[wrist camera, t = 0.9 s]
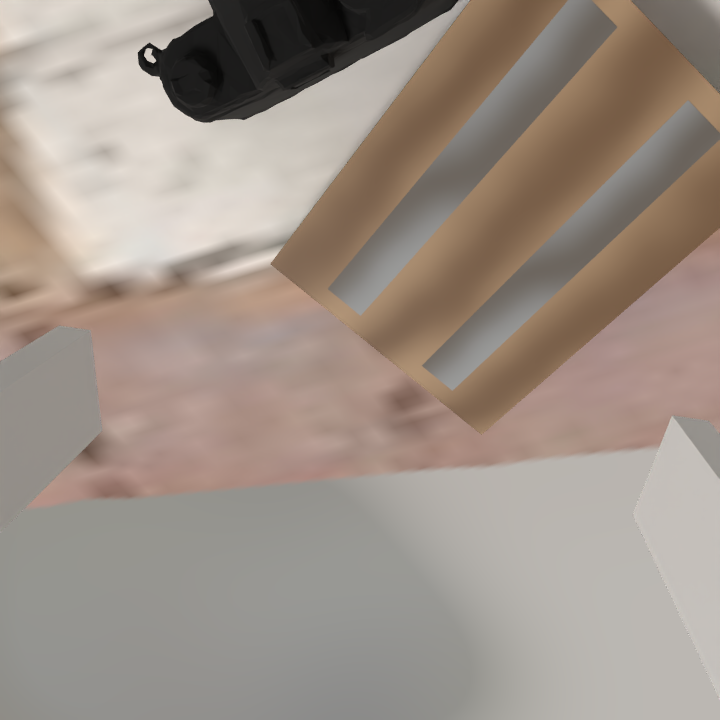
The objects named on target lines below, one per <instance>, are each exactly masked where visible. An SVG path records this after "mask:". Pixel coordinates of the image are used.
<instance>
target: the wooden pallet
mask: <svg viewBox="0 0 720 720" xmlns="http://www.w3.org/2000/svg"><path fill="white" fill-rule="evenodd" d="M719 228H720V94H719V93H718V92H717V91H716V89H715V88H714V87H713V86H712V85H711V84H710V83H709V82H708V81H707V80H706V79H705V78H704V77H703V76H702V75H701V74H700V73H699V72H698V71H697V69H696V68H695V67H694V66H693V65H692V64H691V63H690V62H689V61H688V60H687V59H686V58H685V57H684V56H683V55H682V54H681V53H680V52H679V51H678V49H677V48H676V47H675V46H674V45H673V44H672V43H671V42H670V41H669V40H668V39H667V38H666V37H665V36H664V35H663V34H662V33H661V32H660V31H659V30H658V28H657V27H656V26H655V25H654V24H653V23H652V22H651V21H650V20H649V19H648V18H647V17H646V16H645V15H644V14H643V13H642V12H641V11H640V10H639V8H638V7H637V6H636V5H635V4H634V3H633V2H632V1H631V0H470V2H469V3H468V4H467V6H466V7H465V8H464V10H463V11H462V12H461V14H460V15H459V16H458V17H457V19H456V20H455V21H454V23H453V24H452V25H451V27H450V28H449V29H448V31H447V32H446V33H445V35H444V36H443V37H442V39H441V40H440V41H439V43H438V44H437V45H436V46H435V48H434V49H433V50H432V52H431V53H430V54H429V56H428V57H427V58H426V60H425V61H424V62H423V64H422V65H421V66H420V68H419V69H418V70H417V71H416V73H415V74H414V75H413V77H412V78H411V79H410V81H409V82H408V83H407V85H406V86H405V87H404V89H403V90H402V91H401V93H400V94H399V95H398V97H397V98H396V99H395V100H394V102H393V103H392V104H391V106H390V107H389V108H388V110H387V111H386V112H385V114H384V115H383V116H382V118H381V119H380V120H379V122H378V123H377V124H376V126H375V127H374V128H373V129H372V131H371V132H370V133H369V135H368V136H367V137H366V139H365V140H364V141H363V143H362V144H361V145H360V147H359V148H358V149H357V151H356V152H355V153H354V155H353V156H352V157H351V158H350V160H349V161H348V162H347V164H346V165H345V166H344V168H343V169H342V170H341V172H340V173H339V174H338V176H337V177H336V178H335V180H334V181H333V182H332V183H331V185H330V186H329V187H328V189H327V190H326V191H325V193H324V194H323V195H322V197H321V198H320V199H319V201H318V202H317V203H316V205H315V206H314V207H313V209H312V210H311V211H310V212H309V214H308V215H307V216H306V218H305V219H304V220H303V222H302V223H301V224H300V226H299V227H298V228H297V230H296V231H295V232H294V234H293V235H292V236H291V238H290V239H289V240H288V241H287V243H286V244H285V245H284V247H283V248H282V249H281V251H280V252H279V253H278V255H277V256H276V257H275V259H274V260H273V261H272V263H271V265H272V266H274V267H275V268H276V269H277V270H278V271H280V272H281V273H282V274H283V275H285V276H286V277H287V278H288V279H290V280H291V281H292V282H293V283H295V284H296V285H297V286H298V287H299V288H301V289H302V290H303V291H304V292H306V293H307V294H308V295H309V296H311V297H312V298H313V299H314V300H316V301H317V302H318V303H319V304H321V305H322V306H323V307H324V308H325V309H327V310H328V311H329V312H330V313H332V314H333V315H334V316H335V317H337V318H338V319H339V320H340V321H342V322H343V323H344V324H345V325H347V326H348V327H349V328H350V329H351V330H353V331H354V332H355V333H356V334H358V335H359V336H360V337H361V338H363V339H364V340H365V341H366V342H368V343H369V344H370V345H371V346H372V347H374V348H375V349H376V350H377V351H379V352H380V353H381V354H382V355H384V356H385V357H386V358H387V359H389V360H390V361H391V362H392V363H394V364H395V365H396V366H397V367H398V368H400V369H401V370H402V371H403V372H405V373H406V374H407V375H408V376H410V377H411V378H412V379H413V380H415V381H416V382H417V383H418V384H420V385H421V386H422V387H423V388H424V389H426V390H427V391H428V392H429V393H431V394H432V395H433V396H434V397H436V398H437V399H438V400H439V401H441V402H442V403H443V404H444V405H445V406H447V407H448V408H449V409H450V410H452V411H453V412H454V413H455V414H457V415H458V416H459V417H460V418H462V419H463V420H464V421H465V422H467V423H468V424H469V425H470V426H471V427H473V428H474V429H475V430H476V431H478V432H479V433H480V434H481V435H482V434H483V433H484V432H485V431H486V430H487V429H489V428H490V427H491V426H492V425H493V424H494V423H495V422H497V421H498V420H499V419H500V418H501V417H502V416H504V415H505V414H506V413H507V412H508V411H509V410H510V409H512V408H513V407H514V406H515V405H516V404H517V403H518V402H520V401H521V400H522V399H523V398H524V397H525V396H527V395H528V394H529V393H530V392H531V391H532V390H533V389H535V388H536V387H537V386H538V385H539V384H540V383H541V382H543V381H544V380H545V379H546V378H547V377H548V376H550V375H551V374H552V373H553V372H554V371H555V370H556V369H558V368H559V367H560V366H561V365H562V364H563V363H565V362H566V361H567V360H568V359H569V358H570V357H571V356H573V355H574V354H575V353H576V352H577V351H578V350H579V349H581V348H582V347H583V346H584V345H585V344H586V343H588V342H589V341H590V340H591V339H592V338H593V337H594V336H596V335H597V334H598V333H599V332H600V331H601V330H602V329H604V328H605V327H606V326H607V325H608V324H609V323H611V322H612V321H613V320H614V319H615V318H616V317H617V316H619V315H620V314H621V313H622V312H623V311H624V310H625V309H627V308H628V307H629V306H630V305H631V304H632V303H634V302H635V301H636V300H637V299H638V298H639V297H640V296H642V295H643V294H644V293H645V292H646V291H647V290H649V289H650V288H651V287H652V286H653V285H654V284H655V283H657V282H658V281H659V280H660V279H661V278H662V277H663V276H665V275H666V274H667V273H668V272H669V271H670V270H672V269H673V268H674V267H675V266H676V265H677V264H678V263H680V262H681V261H682V260H683V259H684V258H685V257H686V256H688V255H689V254H690V253H691V252H692V251H693V250H695V249H696V248H697V247H698V246H699V245H700V244H701V243H703V242H704V241H705V240H706V239H707V238H708V237H710V236H711V235H712V234H713V233H714V232H715V231H716V230H718V229H719Z"/></svg>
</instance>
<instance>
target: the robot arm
mask: <svg viewBox="0 0 720 720" xmlns="http://www.w3.org/2000/svg"><path fill="white" fill-rule="evenodd" d="M101 431H102V424H101V416H100V407H99V398H98V389H97V381H96V372H95V363H94V355H93V346H92V337H91V330H85V329H78V328H72V327H65V326H58V327H56V328H55V329H53V330H51V331H50V332H48V333H46V334H45V335H43V336H41V337H40V338H38V339H36V340H35V341H33V342H31V343H30V344H28V345H27V346H25V347H23V348H22V349H20V350H18V351H17V352H15V353H13V354H12V355H10V356H8V357H7V358H5V359H4V360H2V361H0V532H2V531H3V530H4V528H6V526H7V525H9V524H10V523H11V522H12V521H13V520H14V518H16V516H17V515H19V514H20V513H21V512H22V510H24V509H25V508H26V507H27V506H28V505H29V504H30V503H31V502H32V501H33V500H34V499H35V498H36V497H37V496H38V495H39V494H40V493H41V492H42V491H43V489H44V488H45V487H46V486H47V485H48V484H49V483H50V482H51V481H52V480H53V479H54V478H55V477H56V476H57V475H58V474H59V473H60V472H61V471H62V470H63V469H64V468H65V467H66V466H67V465H68V464H69V463H70V462H71V461H72V460H73V459H74V458H75V457H76V456H77V455H78V454H79V453H80V452H81V451H82V450H83V449H84V448H85V447H86V446H87V445H88V444H89V443H90V442H91V441H92V440H93V439H94V438H95V437H96V436H97V435H98V434H99V433H100V432H101ZM633 517H634V519H635V521H636V523H637V525H638V527H639V529H640V532H641V533H642V536H643V538H644V540H645V542H646V544H647V546H648V549H649V551H650V553H651V555H652V557H653V559H654V561H655V563H656V566H657V568H658V570H659V572H660V574H661V576H662V578H663V581H664V583H665V585H666V587H667V589H668V591H669V593H670V595H671V597H672V600H673V602H674V604H675V606H676V608H677V610H678V613H679V615H680V617H681V619H682V621H683V623H684V625H685V627H686V630H687V632H688V634H689V636H690V638H691V640H692V642H693V644H694V646H695V649H696V651H697V653H698V655H699V657H700V659H701V661H702V664H703V666H704V668H705V670H706V672H707V674H708V676H709V678H710V680H711V683H712V684H713V687H714V689H715V691H716V693H717V695H718V698H719V700H720V434H719V432H718V431H717V430H716V429H715V428H714V426H713V425H712V424H711V423H710V422H709V421H706V420H700V419H693V418H686V417H679V416H672V417H671V420H670V422H669V425H668V427H667V430H666V432H665V435H664V437H663V440H662V442H661V445H660V447H659V450H658V453H657V455H656V457H655V460H654V462H653V465H652V468H651V470H650V472H649V475H648V477H647V480H646V483H645V485H644V487H643V490H642V492H641V495H640V497H639V500H638V503H637V505H636V508H635V510H634V512H633Z"/></svg>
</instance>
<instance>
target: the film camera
mask: <svg viewBox="0 0 720 720" xmlns="http://www.w3.org/2000/svg"><path fill="white" fill-rule="evenodd" d="M208 1H209V3H210V5H211V7H212V9H213V16H212V17H210V18H208V19H206V20H204V21H203V22H201V23H199V24H197V25H195V26H194V27H193V28H191V29H190V30H188V31H187V32H186V33H184V34H183V35H182V36H181V37H178V38H175V39H173V40H172V41H171V42H170V43H169V45H168V46H167V48H166V49H164V50H160V49H158V48H157V47H155V46H154V45H152V44H151V43H148V44H147V45H146V46H144V47H143V48H142V49H141V50H140V51H139V52H138V60H139V65H140V67H141V69H142V70H144V71H145V72H147V73H148V74H150V75H151V76H159V77H160V80H161V81H162V84H163V88H164V90H165V92H166V94H167V95H168V97H169V99H170V101H171V102H172V104H173V106H174V107H176V108H177V109H178V110H180V111H181V112H183V113H184V114H185V115H187V116H189V117H191V118H193V119H194V120H196V121H200V122H213V121H215V120H225V119H242V120H245V119H247V118H249V117H251V116H253V115H255V114H258V113H260V112H263V111H266V110H267V109H269V108H271V107H273V106H274V105H276V104H278V103H280V102H282V101H284V100H287V99H289V98H291V97H293V96H295V95H296V94H298V93H299V92H301V91H302V90H304V89H305V88H308V87H310V86H312V85H314V84H316V83H318V82H320V81H322V80H323V79H325V78H327V77H329V76H330V75H332V74H335V73H337V72H339V71H341V70H343V69H345V68H347V67H348V66H350V65H352V64H353V63H355V62H357V61H358V60H360V59H362V58H365V57H367V56H369V55H370V54H372V53H374V52H376V51H378V50H380V49H382V48H384V47H386V46H388V45H390V44H392V43H394V42H396V41H397V40H399V39H401V38H403V37H405V36H407V35H408V34H409V33H411V32H412V31H414V30H416V29H417V28H419V27H421V26H422V25H424V24H426V23H428V22H429V21H431V20H433V19H434V18H436V17H438V16H440V15H441V14H443V13H445V12H447V11H449V10H451V9H452V8H453V6H454V5H455V4H456V3H457V1H458V0H208ZM147 48H151V49H153V50H152V54H151V55H152V56H154V58H155V59H156V62H155V63H154V64H153V63H151V62H149V61H147V60H146V58H145V57H144V53H145V50H146V49H147Z"/></svg>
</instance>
